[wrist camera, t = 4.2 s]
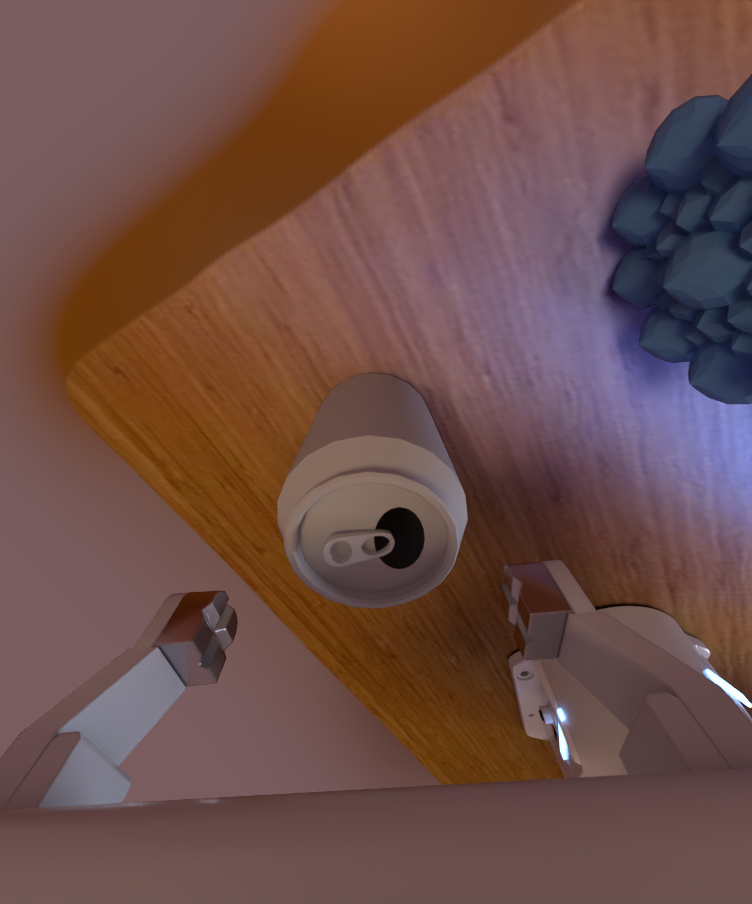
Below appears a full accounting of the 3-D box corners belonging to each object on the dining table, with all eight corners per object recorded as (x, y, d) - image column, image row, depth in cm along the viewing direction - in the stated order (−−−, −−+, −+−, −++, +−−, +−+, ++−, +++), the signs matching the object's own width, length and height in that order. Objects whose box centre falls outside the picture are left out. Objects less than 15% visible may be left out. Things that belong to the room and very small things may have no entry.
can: (427, 471, 24) (470, 622, 13) (324, 475, 24) (282, 627, 13) (431, 367, 20) (493, 453, 10) (311, 372, 21) (240, 462, 10)
